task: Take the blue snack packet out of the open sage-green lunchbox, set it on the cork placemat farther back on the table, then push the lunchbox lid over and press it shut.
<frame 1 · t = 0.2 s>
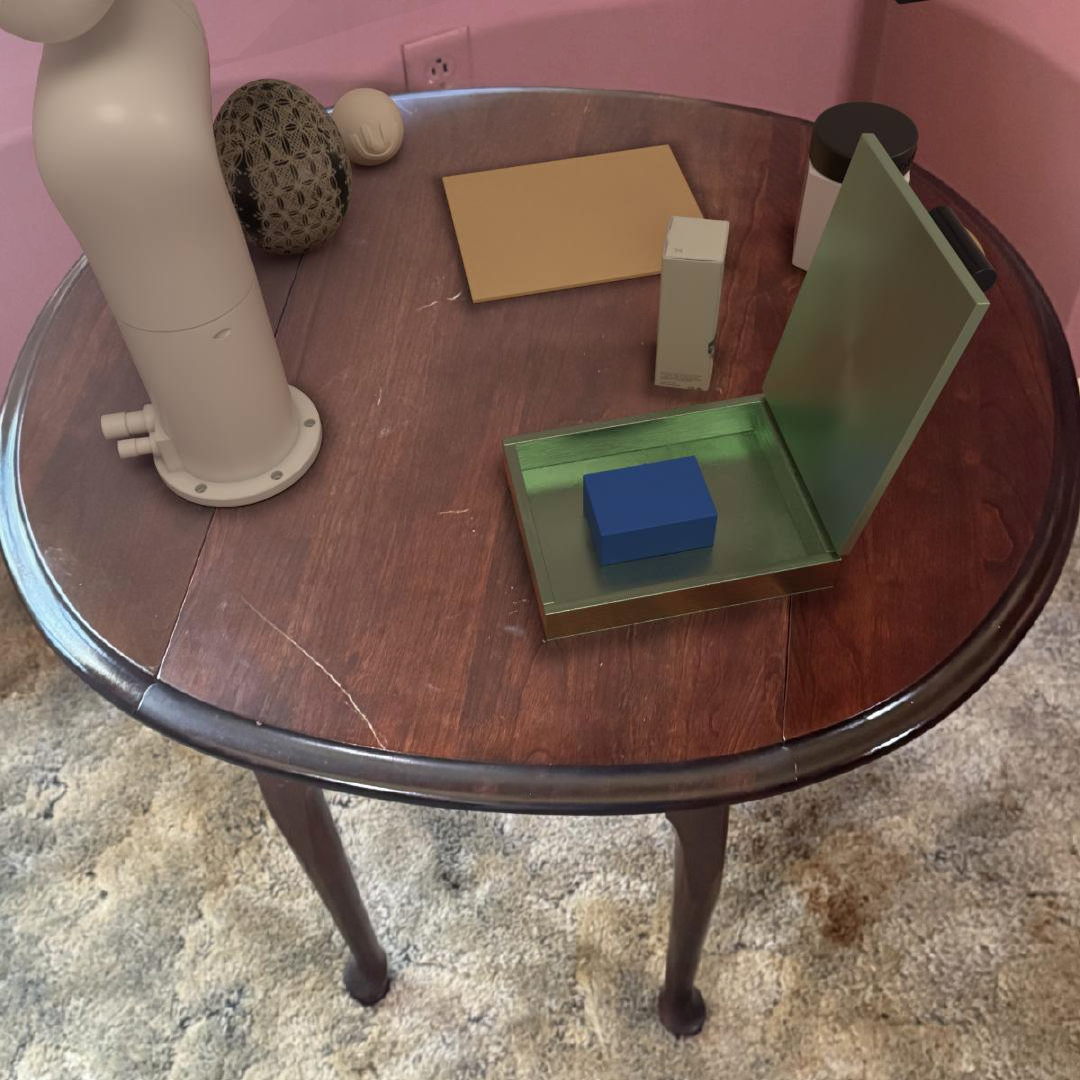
box: (683, 373, 88), on the table
placemat: (577, 220, 100), on the table
cream embossed ball: (373, 161, 107), on the table
lunchbox lid: (884, 352, 69), point 14 cm above the table, hinge at 100.0°
jar: (837, 255, 97), on the table
decorative egg: (298, 243, 100), on the table
packet: (647, 525, 78), point 1 cm above the table, touching lunchbox
lunchbox: (660, 529, 79), on the table
tan pug toy: (898, 337, 90), on the table
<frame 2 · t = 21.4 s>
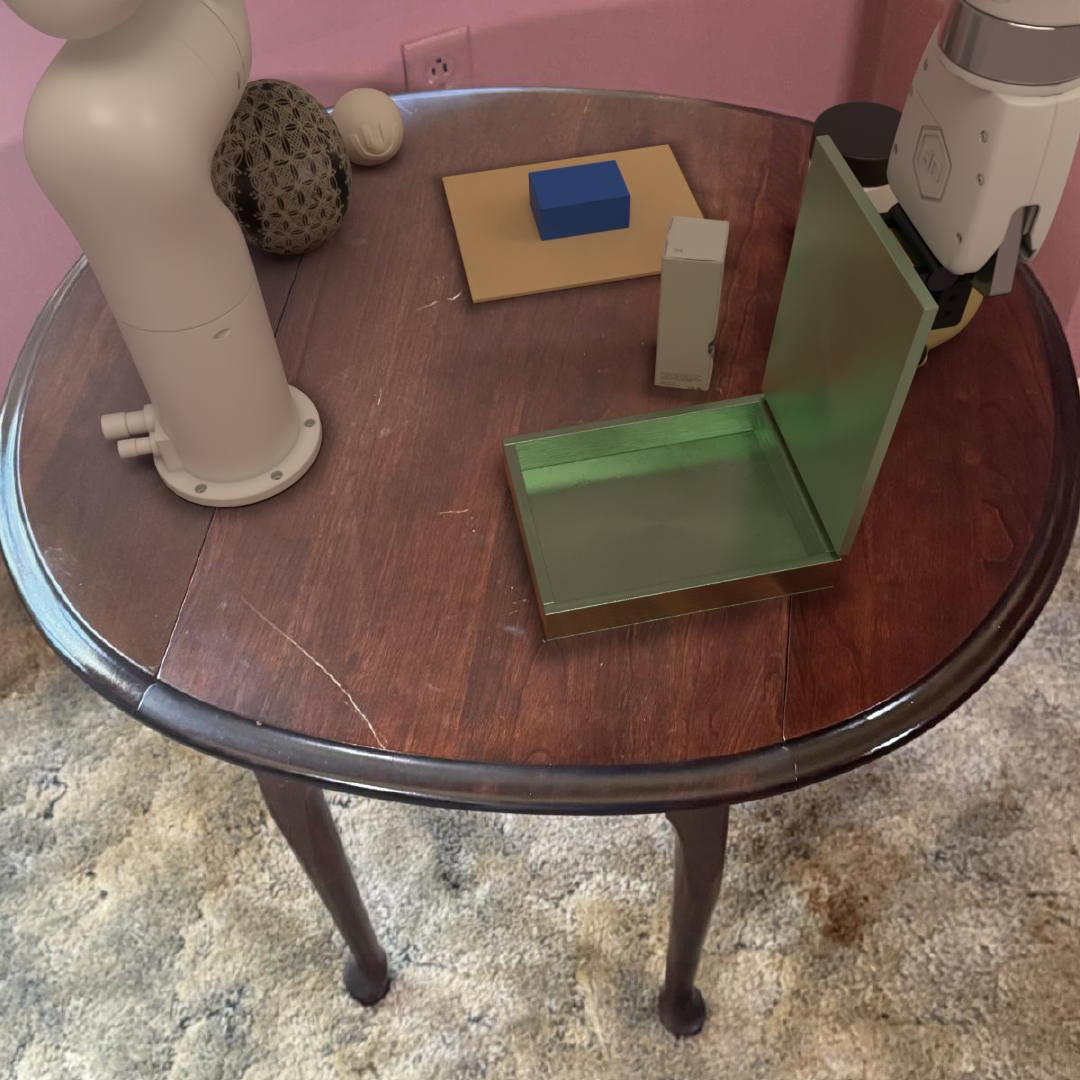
hand: (929, 320, 67), 16 cm above the table, tool pointing down, fingers closed
lunchbox lid: (864, 351, 68), point 14 cm above the table, hinge at 91.9°, touching gripper
packet: (578, 216, 100), resting on placemat
everything else where it was.
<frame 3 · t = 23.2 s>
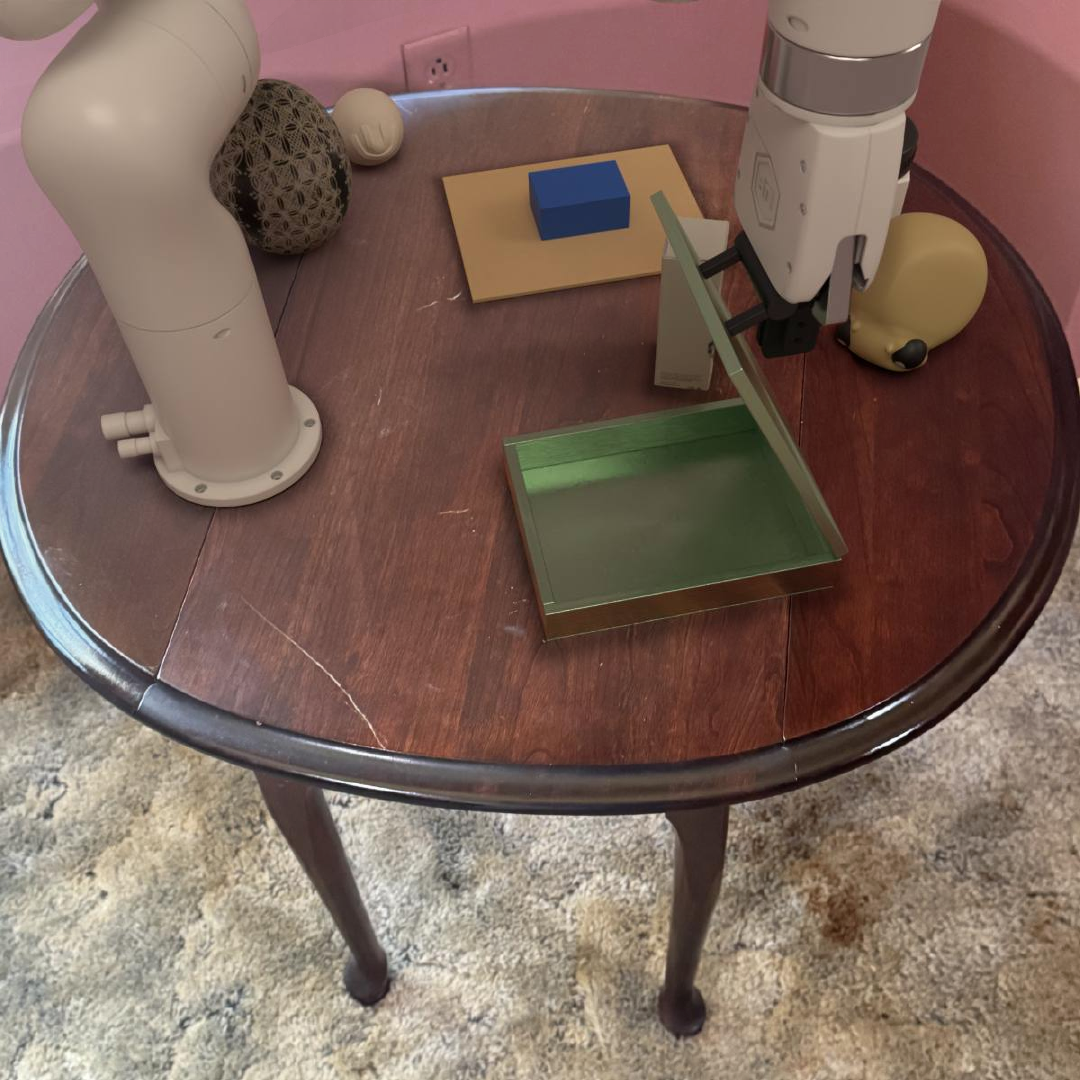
hand: (784, 346, 67), 16 cm above the table, tool pointing down, fingers closed
lunchbox lid: (783, 366, 68), point 14 cm above the table, hinge at 63.0°
everything else where it was.
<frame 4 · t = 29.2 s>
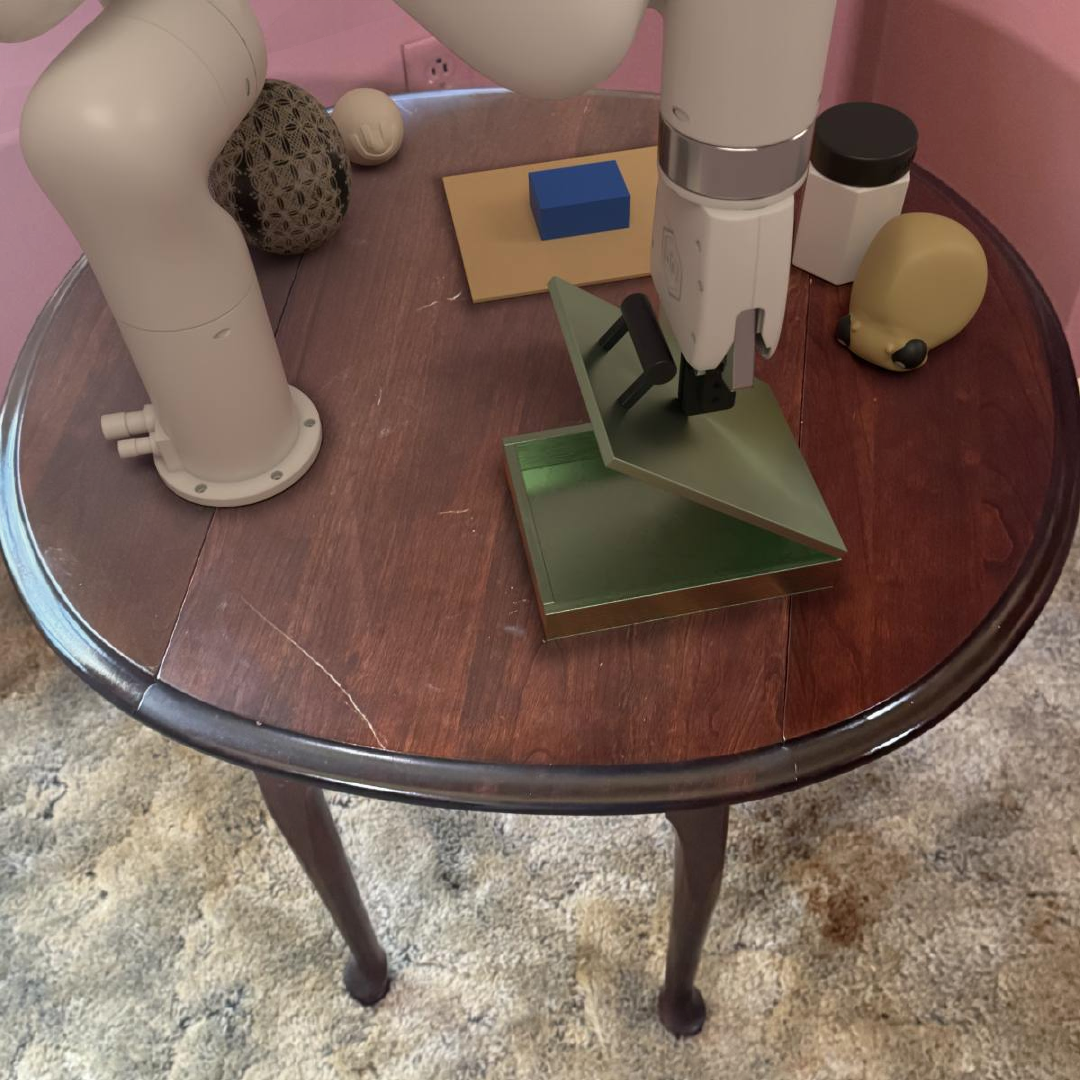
hand: (705, 403, 69), 12 cm above the table, tool pointing down, fingers closed
lunchbox lid: (721, 399, 69), point 12 cm above the table, hinge at 39.6°
everything else where it was.
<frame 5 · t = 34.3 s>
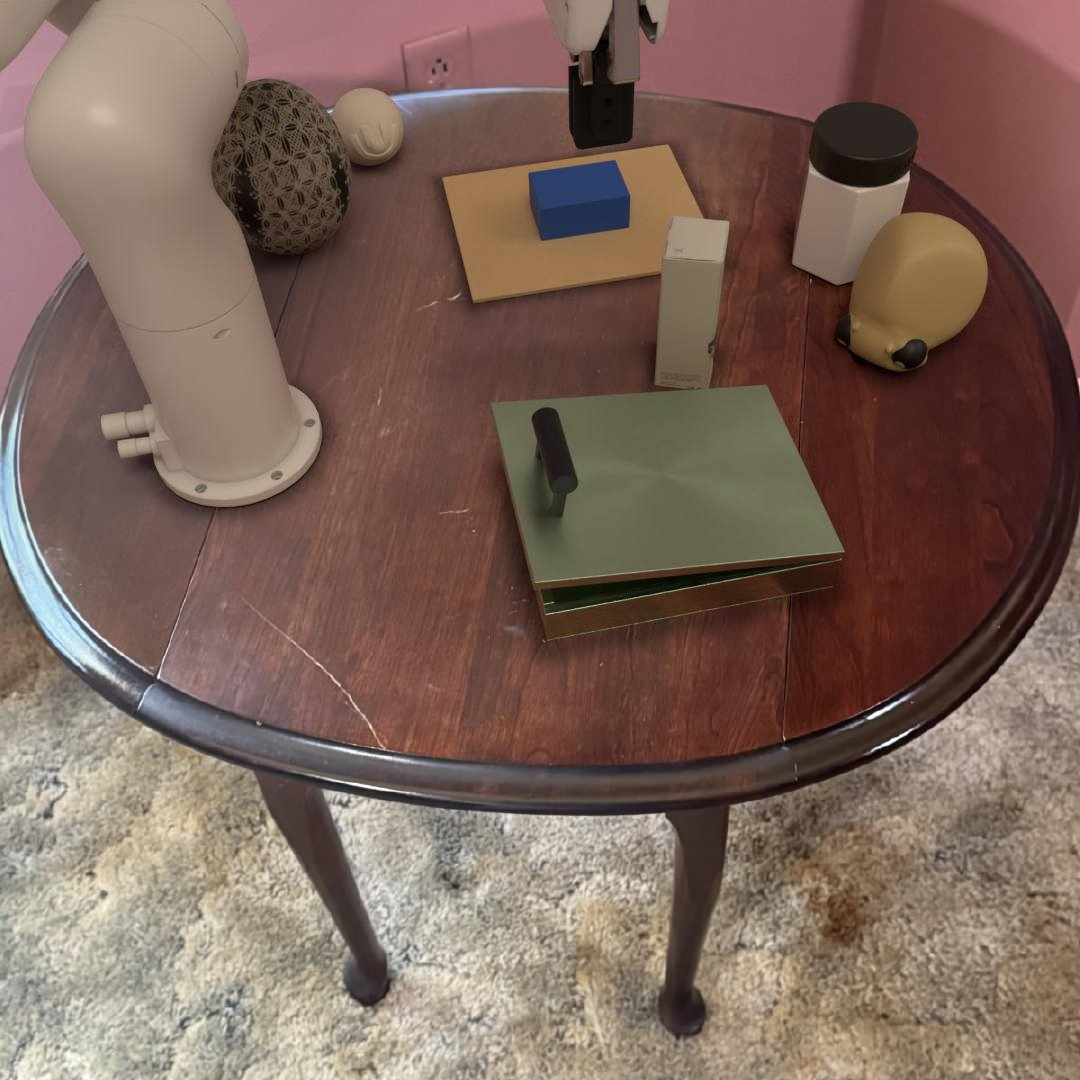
hand: (600, 137, 61), 27 cm above the table, tool pointing down, fingers closed
lunchbox lid: (666, 457, 72), point 8 cm above the table, hinge at 8.0°
everything else where it was.
at the end: packet inside the target area on the placemat (0.2 cm from its centre), point 0.4 cm above the placemat's base; the gripper is holding nothing; lunchbox lid at +8° (first picture: +100°) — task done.
